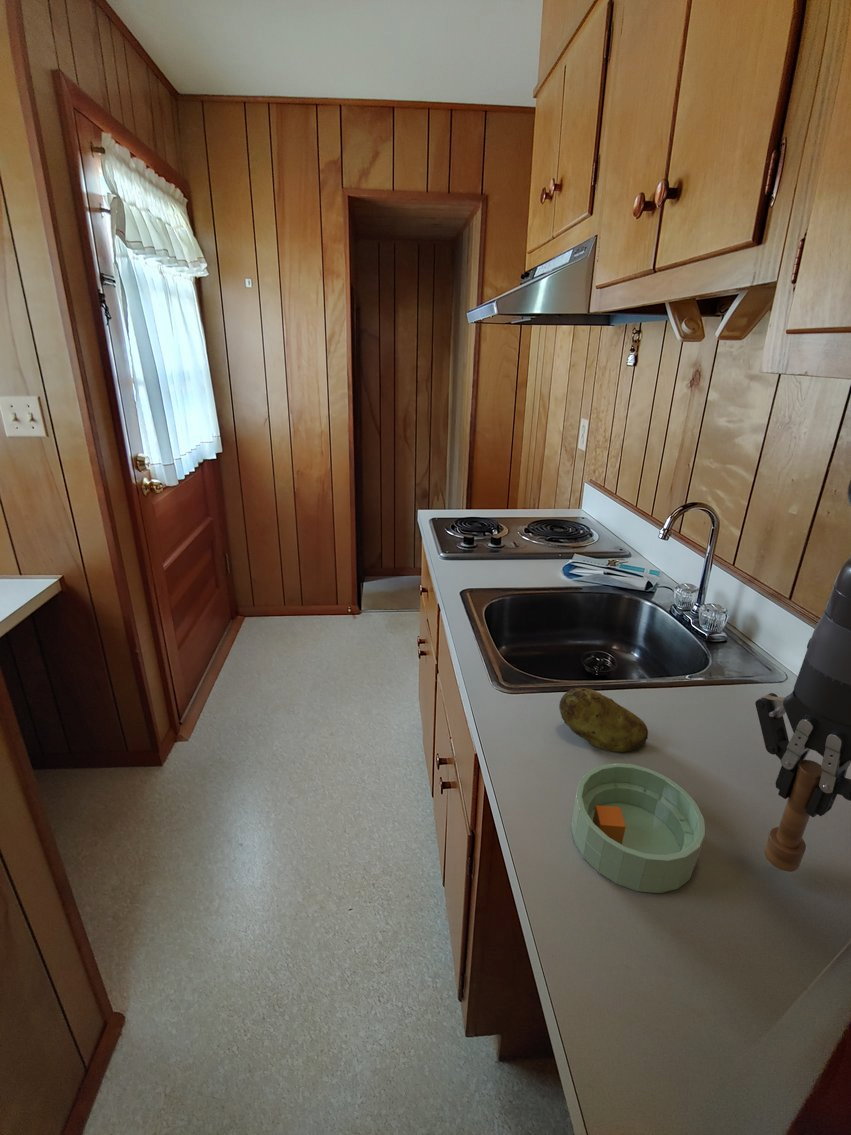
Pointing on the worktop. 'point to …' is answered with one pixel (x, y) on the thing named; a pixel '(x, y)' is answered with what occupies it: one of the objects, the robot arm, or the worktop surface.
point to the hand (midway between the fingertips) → (799, 802)
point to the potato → (602, 721)
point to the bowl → (639, 828)
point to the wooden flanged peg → (793, 820)
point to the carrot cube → (610, 822)
